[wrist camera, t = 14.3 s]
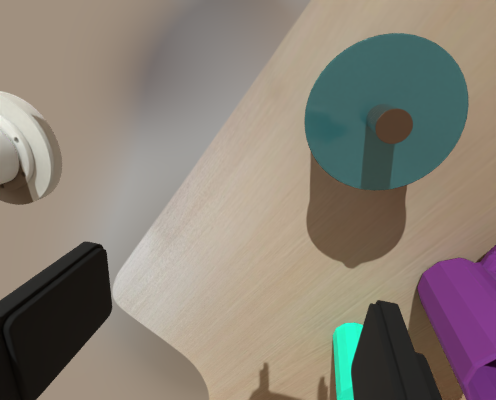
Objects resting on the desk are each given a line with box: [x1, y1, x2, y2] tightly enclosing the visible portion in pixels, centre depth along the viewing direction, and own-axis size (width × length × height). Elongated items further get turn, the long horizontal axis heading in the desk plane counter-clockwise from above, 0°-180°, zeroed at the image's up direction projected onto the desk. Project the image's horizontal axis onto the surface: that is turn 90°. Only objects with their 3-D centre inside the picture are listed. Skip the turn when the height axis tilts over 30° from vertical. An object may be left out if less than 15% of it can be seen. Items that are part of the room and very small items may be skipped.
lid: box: [305, 33, 468, 190], centre depth 24 cm, size 12×12×6 cm
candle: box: [333, 323, 363, 400], centre depth 42 cm, size 6×6×12 cm
